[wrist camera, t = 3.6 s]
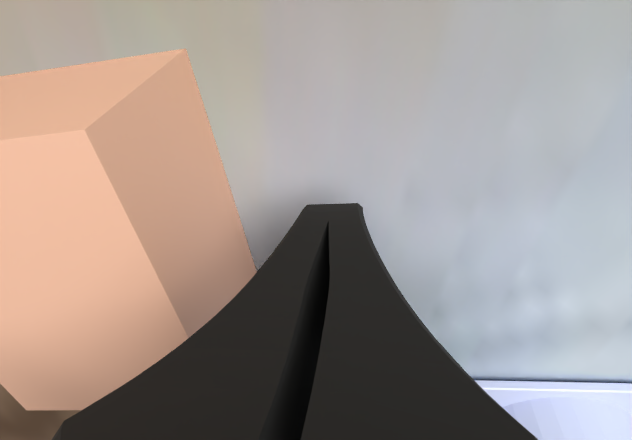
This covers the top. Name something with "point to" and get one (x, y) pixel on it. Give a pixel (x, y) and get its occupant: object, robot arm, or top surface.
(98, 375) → the block
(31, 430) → the plank
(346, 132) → the top surface
